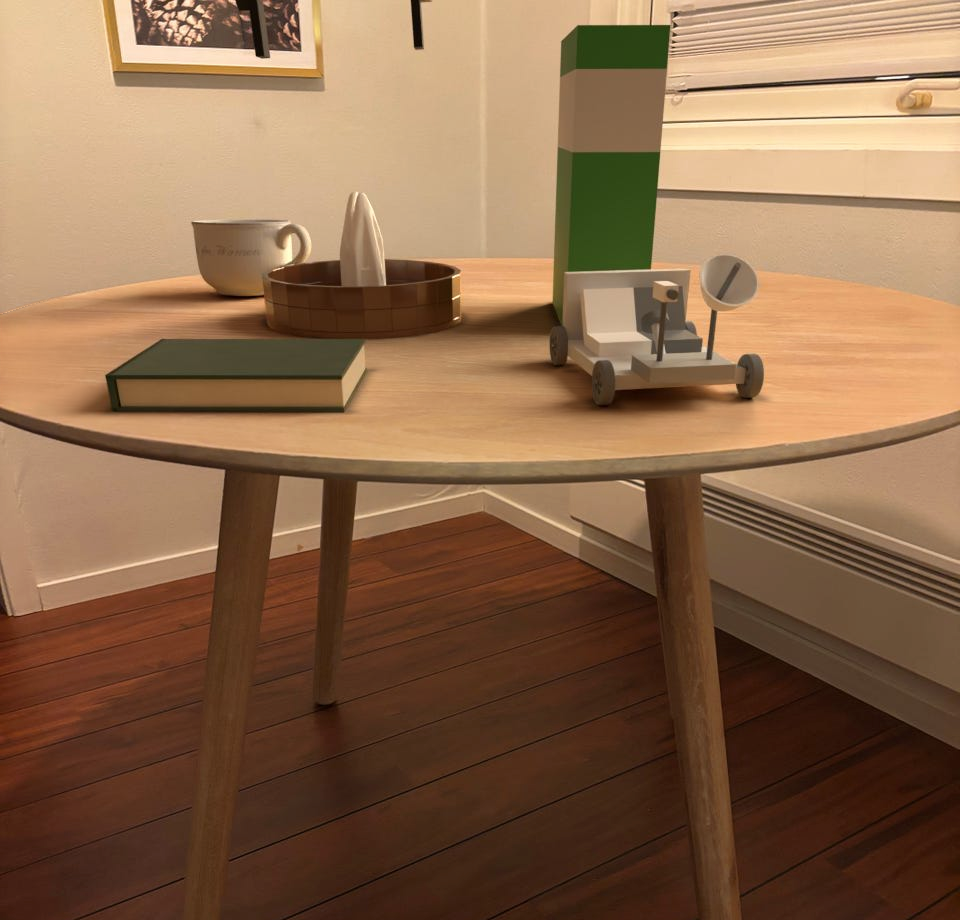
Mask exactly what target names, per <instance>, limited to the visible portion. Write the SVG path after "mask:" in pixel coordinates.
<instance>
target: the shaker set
mask: <svg viewBox="0 0 960 920" xmlns="http://www.w3.org/2000/svg"><path fill="white" fill-rule="evenodd" d="M345 209H346V211H345V215H344V220H343V227H342V232H341V233H342V234H341V241H340V246H339V260H340V269H341V284H342V286H379V285H386V277H385V262H384V259H385V250H384V239H383V236H382V233H381V230H380V227H379V223H378V220H377V218H376V215H375V212H374V209H373V207H372V205H371V203H370V200H369V198H368V196H367V195H366V194H365V192H358V191H352V192H351V193H350V194H349V196H348V199H347V204H346V208H345Z"/></svg>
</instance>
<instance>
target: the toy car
mask: <svg viewBox="0 0 960 920" xmlns="http://www.w3.org/2000/svg"><path fill="white" fill-rule="evenodd" d="M690 280H691V269H688V268H658V269H657V268H656V269H655V268H654V269H653V268H651V270H617V271H583V272H564V295H563V322H562V326H561V325H554V326H553V327H552V328H551V330H550V332H549V333H550V334H549V344H548V345H549V347H548V348H549V356H550V360H551V363H552V364H553V366H564V365H565V364H566V363H567V361H568V358H570V359H571V360H572V361H573V362H574V363H575V364H577V365H578V366H579V367H580V368H581V369H582V370H584V371H585V372H586V373H587V374H589V375H590V376H591V393H592V397H593V400H594V402H595V404H596V406H609V405H611V404H612V403H613V401H614V397H615V393H616V391H621V390H623V391H624V390H641V389H642V390H643V389H661V388H663V389H665V388H681V387H700V386H722V385H735V387H736V391H737V393H738V395H739V396H740V397H741V398H743V399H749V398H751V399H752V398H757V396H758V395H759V394H760V393H761V391H762V389H763V385H764V381H765V369H764V368H765V367H764V363H763V359H762V358H761V356H760V355H759V354H757V353H745V354H743V355H741V356H740V358H739V359H738V361H737V363H736V362H733V361H732V360H730V359H728V358H726V357H724V356H722V355H721V354H719V353H717V352H715V351H714V347H715V346H714V344H715V338H716V337H715V336H716V327H717V320H718V312H729V311H733V310H736V309H738V308H740V307H743V306H744V305H745V306H746V305H747V304H749V303H751V302H752V301H753V300H754V299H755V298H756V296H757V295H758V293H759V289H760V278H759V275H758V273H757V271H756V269H755V268H754V266H753V265H752V264H750V262H748V261H747V259H745V258H742V257H741V256H739V255H736V254H734V253H726V252H721V253H716V254H713V255H711V256H709V257H708V258H707V259H705V261H703V263H702V264H701V266H700V270H699V285H700V292H701V295H702V298H703V301H704V302H705V305H707V307H708V308H710V309H711V311H710V318H709V319H710V320H709V329H708V338H707V345H706V346H707V347H706V346H704V345H703V342H704V341H703V340H704V339H703V337H700V336H699V335H698V331H697V327H696V324H695V323H694V322H693V321H691V320H687V310H688V302H689V291H690V282H691V281H690Z"/></svg>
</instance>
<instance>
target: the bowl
mask: <svg viewBox="0 0 960 920" xmlns="http://www.w3.org/2000/svg"><path fill="white" fill-rule="evenodd" d="M384 262H385V277H386V285H379V286H342V284H341V269H340V259H332V260H331V259H330V260H320V261H319V260H317V261H309V262H304V263H299V264H292V265H287V266H281V267H277V268H273V269H270V270H267V271H266V272H264V273H262V284H263V293H264V295H263V301H264V309H265V317H266V324H267V326H268V328H270V329H271V330H274V331H276V332H279V333H281V334H285V335H286V334H287V335H291V336H298V337H303V338H311V339H365V340H376V339H394V338H403V337H404V338H405V337H412V336H413V337H414V336H418V335H425V334H430V333H435V332H441V331H443V330H446V329H449V328H453V327H454V326H456V325H458V324H459V323H461V321H462V308H463V307H462V305H463V304H462V302H463V301H462V270H461V268H458V267H456V266H455V265H450V264H447V263H442V262H434V261H428V260H427V261H426V260H415V259H414V260H413V259H398V258H397V259H396V258H395V259H393V258H384Z"/></svg>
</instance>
